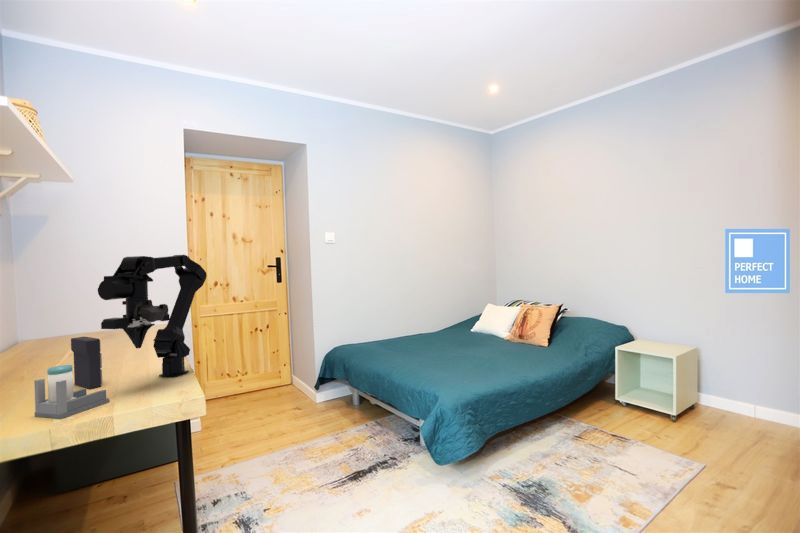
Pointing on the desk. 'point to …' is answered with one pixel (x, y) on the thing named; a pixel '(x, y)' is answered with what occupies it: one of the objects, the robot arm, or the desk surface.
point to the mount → (65, 401)
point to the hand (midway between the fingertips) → (138, 348)
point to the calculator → (87, 362)
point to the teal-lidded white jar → (58, 375)
